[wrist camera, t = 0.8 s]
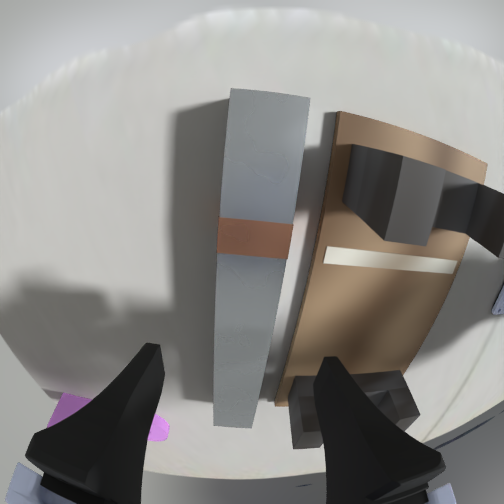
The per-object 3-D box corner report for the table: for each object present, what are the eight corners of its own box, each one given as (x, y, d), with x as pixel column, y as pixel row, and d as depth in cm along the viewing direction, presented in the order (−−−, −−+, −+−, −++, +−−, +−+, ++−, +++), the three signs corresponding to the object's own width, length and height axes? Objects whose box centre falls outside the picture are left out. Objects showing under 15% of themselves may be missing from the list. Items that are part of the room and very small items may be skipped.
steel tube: (297, 104, 12) (311, 97, 9) (251, 399, 21) (251, 428, 18) (234, 97, 12) (229, 88, 9) (216, 396, 21) (213, 425, 18)
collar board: (481, 162, 12) (542, 184, 7) (384, 394, 22) (401, 439, 17) (336, 111, 12) (388, 105, 7) (274, 400, 21) (278, 456, 16)
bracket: (84, 416, 25) (68, 458, 19) (63, 391, 23) (42, 435, 17) (175, 433, 25) (166, 485, 19) (160, 409, 23) (146, 468, 16)
